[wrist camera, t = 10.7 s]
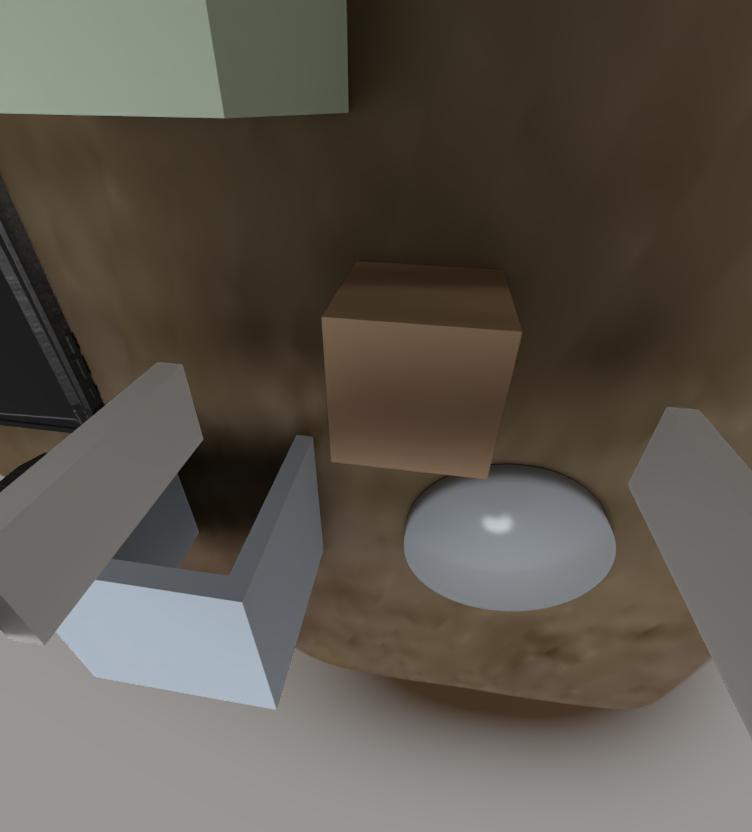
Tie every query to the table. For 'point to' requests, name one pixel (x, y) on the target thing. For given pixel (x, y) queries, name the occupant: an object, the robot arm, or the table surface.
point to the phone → (36, 342)
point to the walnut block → (419, 366)
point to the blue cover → (206, 597)
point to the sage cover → (174, 57)
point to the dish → (509, 539)
